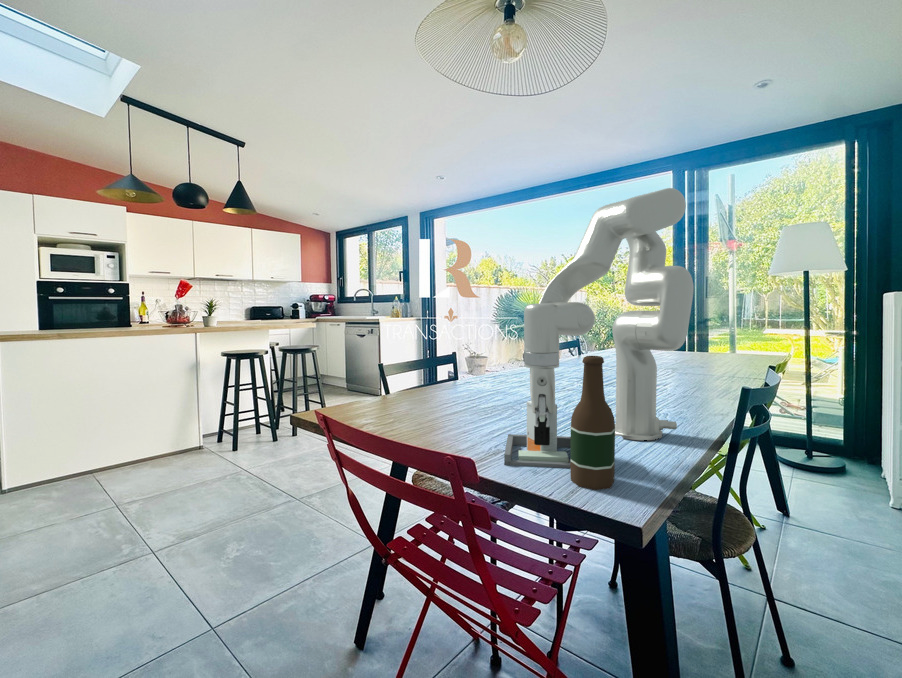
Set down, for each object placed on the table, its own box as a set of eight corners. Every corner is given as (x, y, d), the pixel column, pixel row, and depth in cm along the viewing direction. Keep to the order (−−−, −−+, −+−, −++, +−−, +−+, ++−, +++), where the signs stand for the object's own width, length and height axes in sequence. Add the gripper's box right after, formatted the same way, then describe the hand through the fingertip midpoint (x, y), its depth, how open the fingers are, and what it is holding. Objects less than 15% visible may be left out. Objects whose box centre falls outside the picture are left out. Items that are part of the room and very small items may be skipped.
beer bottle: (623, 487, 79) (625, 356, 78) (597, 498, 75) (598, 360, 73) (587, 474, 86) (588, 353, 84) (561, 484, 81) (561, 356, 80)
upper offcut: (566, 458, 93) (566, 451, 93) (568, 464, 89) (568, 457, 89) (518, 457, 94) (518, 450, 94) (518, 463, 91) (518, 455, 90)
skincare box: (525, 452, 99) (525, 400, 98) (541, 450, 101) (541, 399, 100) (541, 461, 94) (541, 406, 93) (557, 458, 95) (558, 404, 94)
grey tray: (575, 449, 101) (575, 436, 101) (582, 472, 87) (582, 458, 87) (508, 446, 104) (508, 434, 103) (504, 468, 90) (504, 454, 89)
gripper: (561, 365, 86) (561, 453, 88) (557, 355, 103) (556, 429, 105) (523, 364, 88) (523, 451, 89) (524, 355, 105) (525, 428, 106)
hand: (541, 438), depth 97 cm, fingers closed on skincare box, 7 cm apart
